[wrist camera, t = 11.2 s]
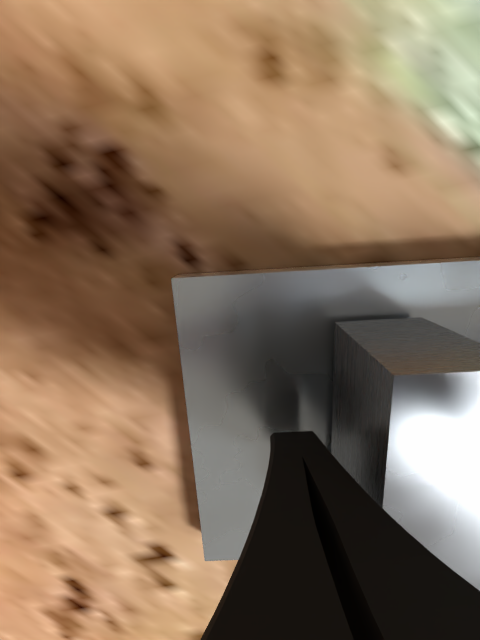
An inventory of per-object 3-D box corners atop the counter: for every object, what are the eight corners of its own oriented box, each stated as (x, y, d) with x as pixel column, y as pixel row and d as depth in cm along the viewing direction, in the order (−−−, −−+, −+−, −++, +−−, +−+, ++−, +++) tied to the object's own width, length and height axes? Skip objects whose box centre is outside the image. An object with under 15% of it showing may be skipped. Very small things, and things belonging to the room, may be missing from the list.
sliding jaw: (421, 316, 9) (537, 368, 5) (398, 531, 11) (470, 665, 7) (334, 322, 9) (394, 375, 5) (328, 533, 11) (368, 668, 7)
